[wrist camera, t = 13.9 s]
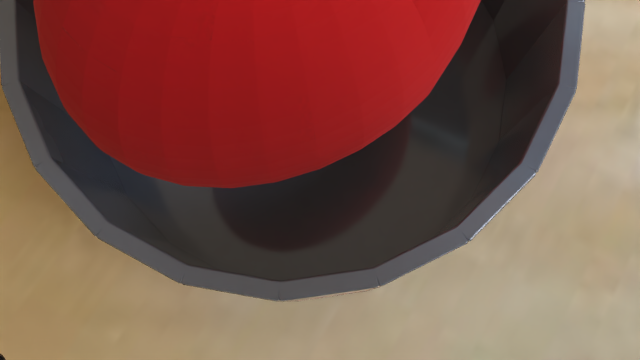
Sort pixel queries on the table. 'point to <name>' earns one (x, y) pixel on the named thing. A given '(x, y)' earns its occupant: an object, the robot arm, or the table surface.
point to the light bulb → (243, 79)
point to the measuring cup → (325, 168)
